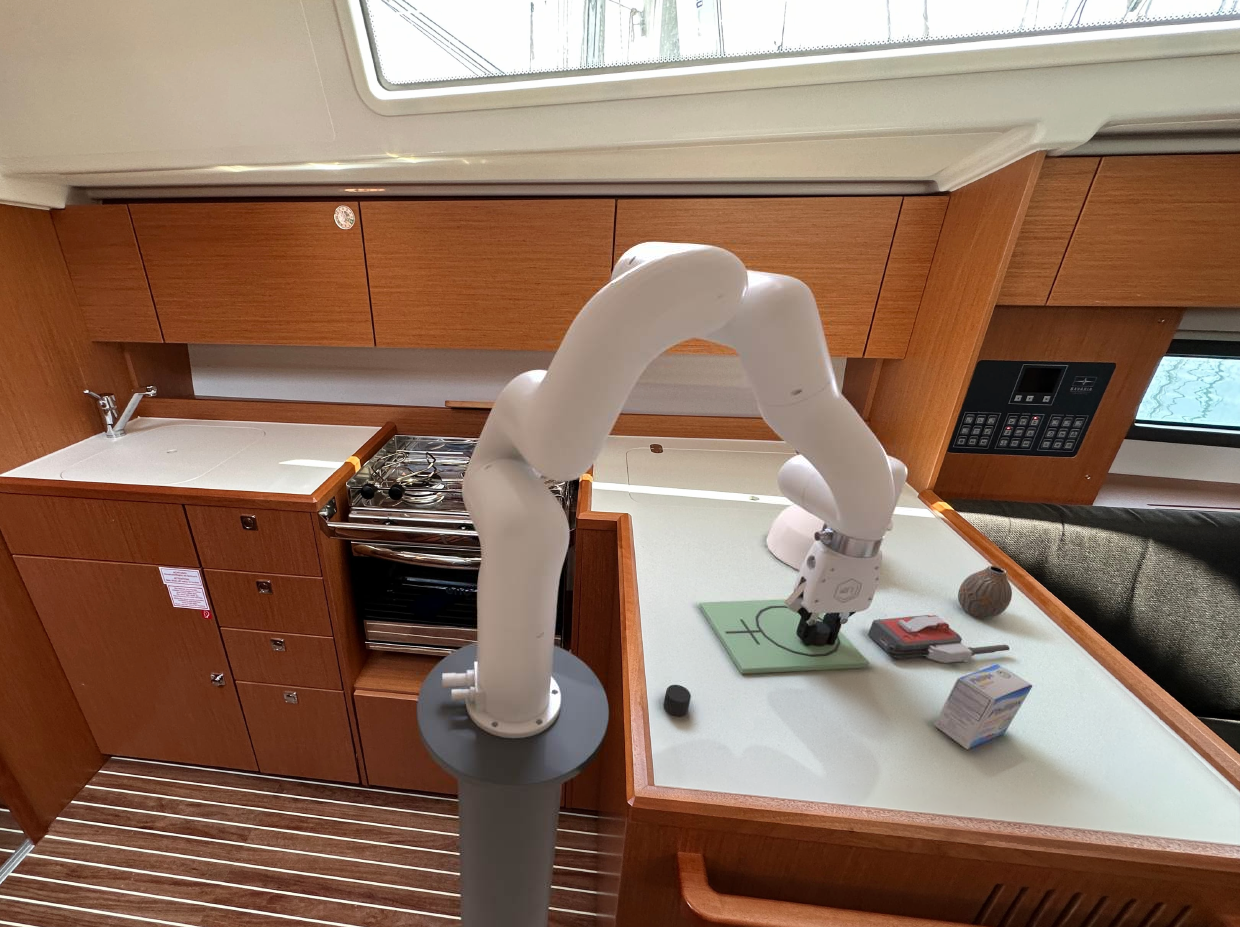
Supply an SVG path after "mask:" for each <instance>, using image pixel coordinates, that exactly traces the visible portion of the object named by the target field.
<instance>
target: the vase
mask: <svg viewBox="0 0 1240 927" xmlns="http://www.w3.org/2000/svg"><path fill="white" fill-rule="evenodd" d="M1012 597H1013V589H1012V586H1011V584H1010V581H1009V580H1008V577H1007V571H1006V570H1005V569H1004V568H1002V567H1000V566H996V565H989V566H987V567H986V568H984V569H981V570H979V571H976V572H974V573H972V574H970V575H968V576H967V577H966V578H965V579H964V580H963V582H962V583H961V585H960V586H959V589H958V593H957V600H958V603H959V605H960V606H961V608H962V609H963V611H965V612H966V613H967V614H969V615H971V616H973V617H976V618H980V619H992V618H995V617H997V616H1000V615H1002V613H1004V612H1005V611H1006V610H1007V609H1008V607H1009V605H1010V604H1011V601H1012Z"/></svg>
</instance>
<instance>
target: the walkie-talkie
mask: <svg viewBox="0 0 1240 927" xmlns="http://www.w3.org/2000/svg"><path fill="white" fill-rule="evenodd" d="M867 636H869V637H870V638H871V639H872V640H873V641H874V642H875V643H876V644H878V645H879V646H880V647H881V648H882V650H884V651H885V652H886V653H887V654H888V655H889V656H891V657H893V658H896V659H907V658H917V657H926V658H927V659H930V660H932V661H937V662H939V663H944V664H947V663H956V662H957V663H958V662H963V663H964V662H965V663H966V662H969V661H970V659H971V658H972V657H973V656H975V655H985V654H994V653H996V652H1005V651H1010V646H1009V645H1008V644H996V645H987V646H976V647H972V646H968V647H967V646H966V645H965V644H964V643H962V640H963V638H962V637H961V635H960V634H958V632H956V631H955V630H953V629H952V628H951V627H950V625H949V624H948V623H947V622H946V621H944V620H943V619H942V618H941V617H940V616H938V615H936V614H932V615H929V614H924V615H923V614H922V615H913V616H903V617H893V618H892V617H890V618H881V619H873V620H872V623H871V625H870V627H869V630H868V632H867Z"/></svg>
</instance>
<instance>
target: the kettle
mask: <svg viewBox="0 0 1240 927" xmlns="http://www.w3.org/2000/svg"><path fill="white" fill-rule="evenodd" d="M823 524H824V521H823V520H821V519H819V518H818V517H816V516H815V515H813V514H811V513H809V512H807V511H806V510H804V509H803V508H801V507H799V506H798V505H796V504H794V503H792V504H790V505H789V506H787V507H786V508H784V509H783V510H782V511H781V512H780V513H779V515H778V516H777V517H776V518H775V519H774V520H773V522H772V525H771V528H770V531H769V533H768V535H767V538H766V539H765V540H766V545H767V548H768V550H769V551H770V553H772V554H773V555H774V557H775V558H776V559H778V560H779V561H781V562H782V563H784V564H786V565H787V566H789V567H791V568H792V569H795V570H797V571H798V572H799V571H800V569H801V566H802V564H803V562H804V560H805V558H806V556H807V554H808V552H809V550H810V549H811V547H812V545H813V544H814V542H815V541H816V540H815V538H814V534H815V533H816V532H820V531H822V528H823ZM893 529H894V523H893V519H892V518H891V520H890V523H889V526H888V528H887V531H886V532H891V531H892V530H893Z"/></svg>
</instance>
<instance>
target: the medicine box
mask: <svg viewBox="0 0 1240 927" xmlns="http://www.w3.org/2000/svg"><path fill="white" fill-rule="evenodd" d="M954 682H955V683H954V684H953V686H952V688H951V690H950V693H949V694H948V696H947V698H946V700H945V701H944V704H943V706H942V708H941V710H940V712H939V713H938V714H939V715H938V716H937V719H936V720H935V723H934V726H935V727H936V728H937V729H938V730H940V731H941V732H942V733H944V734H945V735H947V736H948V737H949V738H950V739H952V740H953V741H955V742H956V743H957V744H959V745H960V746H961V747H963V748H964V749H965V750H971V749H972V748H974V747H977V746H980V745H981V744H984V743H985V742H989V741H990V740H992V739H995V738H996V737H999V736H1001V735H1003V734H1005V733H1007V730H1008V729H1009V727H1010V725H1011V724H1012V722H1013V720H1014V719H1015V717H1016V716H1017V714H1018V712H1019V710H1020V709H1021V707H1022V705H1023V703H1024V702H1025V701H1026V698H1027V697H1028V695H1029V694H1030V692H1031V690H1032V688H1033V684H1031V683H1030V682H1029V681H1027V680H1025V679H1023V678H1022V677H1021V676H1019V675H1018V674H1016V673H1014V672H1013V671H1011V670H1009V669H1008V668H1006V667H1004V666H1002V665H1001V664H998V663H996V664H993V665H990V666H988V667H985V668H983V669H980V670H977V671H975V672H972V673H968V674H966V675H963V676H961V677H957V679H956V681H954Z"/></svg>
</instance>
